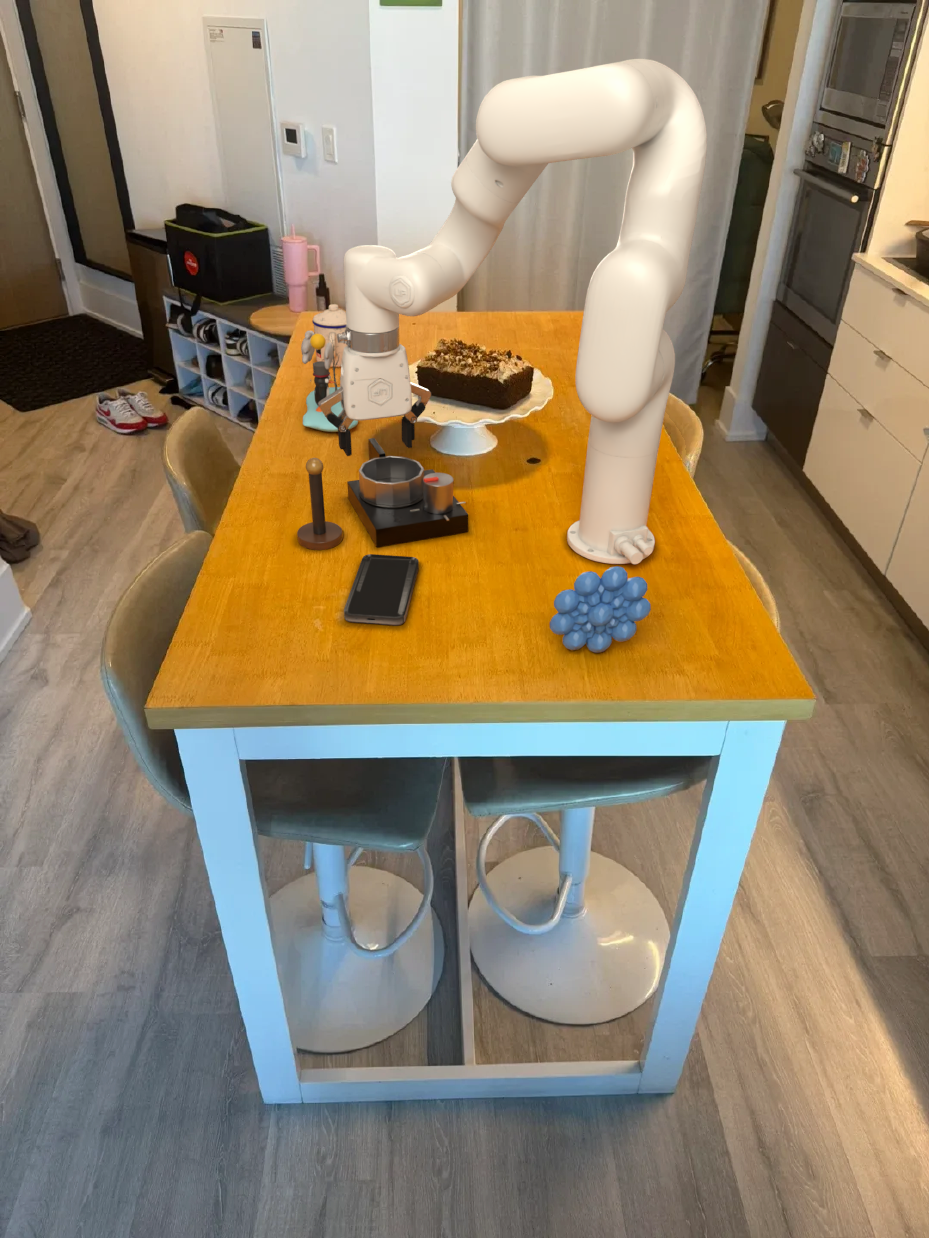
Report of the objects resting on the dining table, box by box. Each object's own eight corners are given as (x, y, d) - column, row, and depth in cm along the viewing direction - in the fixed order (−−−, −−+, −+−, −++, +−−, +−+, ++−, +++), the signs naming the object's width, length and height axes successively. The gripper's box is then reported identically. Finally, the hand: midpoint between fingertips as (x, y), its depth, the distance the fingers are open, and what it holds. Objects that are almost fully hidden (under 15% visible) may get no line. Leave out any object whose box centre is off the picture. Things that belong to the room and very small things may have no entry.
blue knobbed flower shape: (638, 632, 113) (651, 549, 107) (646, 665, 108) (660, 579, 101) (545, 629, 113) (552, 546, 107) (548, 662, 108) (556, 576, 101)
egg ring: (431, 499, 135) (431, 475, 132) (370, 509, 132) (369, 484, 130) (400, 457, 147) (399, 434, 144) (343, 465, 144) (342, 442, 141)
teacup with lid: (317, 353, 197) (313, 298, 190) (359, 354, 197) (357, 299, 191) (311, 372, 187) (307, 315, 181) (355, 373, 188) (352, 316, 181)
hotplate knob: (446, 498, 136) (447, 469, 133) (457, 511, 132) (457, 481, 129) (419, 502, 134) (418, 473, 131) (428, 516, 131) (428, 486, 128)
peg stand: (347, 546, 129) (342, 465, 122) (303, 553, 127) (295, 471, 120) (336, 525, 134) (331, 446, 127) (293, 532, 132) (285, 452, 125)
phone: (419, 557, 125) (403, 618, 112) (419, 564, 125) (403, 626, 113) (363, 553, 125) (341, 614, 113) (363, 560, 126) (341, 621, 114)
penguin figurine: (356, 437, 161) (352, 353, 152) (296, 436, 160) (288, 351, 152) (365, 396, 177) (362, 317, 169) (310, 395, 177) (304, 316, 168)
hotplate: (475, 534, 133) (475, 515, 131) (378, 550, 128) (377, 531, 127) (437, 485, 146) (437, 467, 144) (348, 498, 141) (347, 480, 140)
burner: (434, 502, 134) (434, 501, 134) (369, 512, 131) (369, 511, 131) (413, 474, 142) (413, 473, 142) (351, 483, 139) (351, 482, 139)
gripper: (320, 352, 125) (328, 466, 135) (438, 341, 130) (437, 451, 140) (308, 336, 131) (316, 446, 141) (421, 326, 136) (422, 432, 146)
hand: (377, 448), depth 140 cm, fingers open, 9 cm apart
